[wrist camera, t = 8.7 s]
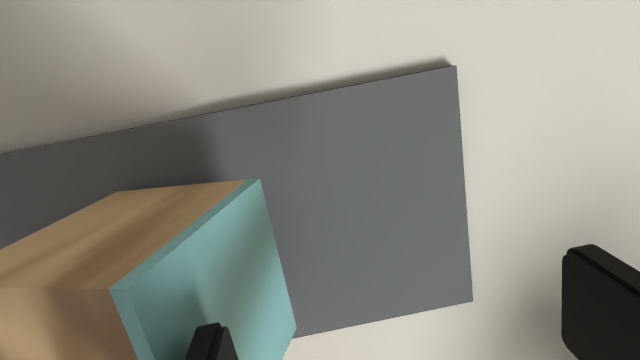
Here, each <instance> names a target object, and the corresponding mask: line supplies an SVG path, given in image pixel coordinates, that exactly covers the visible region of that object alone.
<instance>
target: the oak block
mask: <svg viewBox="0 0 640 360" xmlns="http://www.w3.org/2000/svg"><path fill="white" fill-rule="evenodd" d="M216 322H219V323H220V324H221V326H222V327H224V326H227V327H228V329H229V331H230V335H231V338H232V341H233V344H234V347H235V350H236V353H237V356H238V359H239V360H282V358H283V356H284V354H285V352H286V350H287V348H288V345H289V343H290V341H291V339H292V337H293V335H294V332H295V330H296V328H297V327H296V323H295V319H294V315H293V311H292V307H291V303H290V299H289V295H288V291H287V286H286V282H285V278H284V274H283V270H282V266H281V262H280V258H279V254H278V250H277V246H276V242H275V238H274V234H273V230H272V226H271V222H270V218H269V214H268V210H267V206H266V201H265V197H264V193H263V189H262V185H261V181H260V178H256V179H245V180H235V181H224V182H213V183H203V184H192V185H182V186H171V187H160V188H150V189H139V190H128V191H118V192H115V193H113V194H111V195H109V196H107V197H105V198H103V199H101V200H99V201H97V202H95V203H93V204H91V205H89V206H87V207H85V208H83V209H81V210H79V211H77V212H75V213H73V214H71V215H69V216H67V217H65V218H63V219H61V220H59V221H57V222H55V223H53V224H51V225H49V226H47V227H45V228H43V229H41V230H39V231H37V232H35V233H33V234H31V235H29V236H27V237H25V238H23V239H21V240H19V241H17V242H15V243H13V244H11V245H9V246H7V247H5V248H3V249H1V250H0V360H185V358H186V355H187V352H188V349H189V347H190V344H191V341H192V338H193V335H194V333H195V330H196V328H197V327H198V326H202V325H207V324H212V323H216Z"/></svg>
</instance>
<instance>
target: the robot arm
mask: <svg viewBox="0 0 640 360" xmlns="http://www.w3.org/2000/svg"><path fill="white" fill-rule="evenodd" d="M561 333H562V339H563V341H564V343H565V345H566V347H567V348H568V349H569V350H570V351H571V352H572V353H573V354H574V355H575V356H576V357H577V358H578V359H579V360H640V272H639V271H637V270H636V269H634V268H632V267H631V266H629V265H627V264H626V263H624V262H623V261H621V260H619V259H618V258H616V257H614V256H613V255H611V254H609V253H608V252H606V251H604V250H603V249H601V248H599V247H598V246H596V245H593V244H589V245H584V246H579V247H574V248H570V249H569V250H568V251H567V255H565V256H563V259H562V332H561ZM185 360H239V359H238V356H237V353H236V350H235V347H234V344H233V341H232V338H231V335H230V331H229V329H228V327H227V326H224V327H222V326H221V324H220V323H219V322H216V323H212V324H207V325H202V326H198V327H197V328H196V330H195V333H194V335H193V338H192V341H191V344H190V347H189V349H188V352H187V355H186V358H185Z"/></svg>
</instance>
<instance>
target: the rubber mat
mask: <svg viewBox="0 0 640 360" xmlns="http://www.w3.org/2000/svg"><path fill="white" fill-rule="evenodd" d="M256 178H260V181H261V185H262V189H263V193H264V197H265V201H266V206H267V210H268V214H269V218H270V222H271V226H272V230H273V234H274V238H275V242H276V246H277V250H278V254H279V258H280V262H281V266H282V270H283V274H284V278H285V282H286V286H287V291H288V295H289V299H290V303H291V307H292V311H293V315H294V319H295V323H296V327H297V328H296V330H295V332H294V335H293V337H292V339H293V338H298V337H303V336H308V335H313V334H317V333H322V332H327V331H332V330H337V329H341V328H346V327H351V326H356V325H361V324H366V323H370V322H375V321H380V320H385V319H390V318H395V317H399V316H404V315H409V314H414V313H419V312H423V311H428V310H433V309H438V308H443V307H448V306H452V305H457V304H462V303H467V302H472V301H473V294H472V280H471V266H470V251H469V237H468V223H467V209H466V195H465V180H464V166H463V152H462V138H461V123H460V109H459V95H458V81H457V67H456V66H448V67H443V68H438V69H432V70H427V71H422V72H417V73H412V74H407V75H402V76H397V77H392V78H387V79H382V80H376V81H371V82H366V83H361V84H356V85H351V86H346V87H341V88H336V89H331V90H325V91H320V92H315V93H310V94H305V95H300V96H295V97H290V98H285V99H280V100H275V101H269V102H264V103H259V104H254V105H249V106H244V107H239V108H234V109H229V110H224V111H218V112H213V113H208V114H203V115H198V116H193V117H188V118H183V119H178V120H173V121H168V122H162V123H157V124H152V125H147V126H142V127H137V128H132V129H127V130H122V131H117V132H111V133H106V134H101V135H96V136H91V137H86V138H81V139H76V140H71V141H66V142H60V143H55V144H50V145H45V146H40V147H35V148H30V149H25V150H20V151H15V152H10V153H4V154H0V250H1V249H3V248H5V247H7V246H9V245H11V244H13V243H15V242H17V241H19V240H21V239H23V238H25V237H27V236H29V235H31V234H33V233H35V232H37V231H39V230H41V229H43V228H45V227H47V226H49V225H51V224H53V223H55V222H57V221H59V220H61V219H63V218H65V217H67V216H69V215H71V214H73V213H75V212H77V211H79V210H81V209H83V208H85V207H87V206H89V205H91V204H93V203H95V202H97V201H99V200H101V199H103V198H105V197H107V196H109V195H111V194H113V193H115V192H118V191H128V190H139V189H150V188H160V187H171V186H182V185H192V184H203V183H213V182H224V181H235V180H245V179H256Z"/></svg>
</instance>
